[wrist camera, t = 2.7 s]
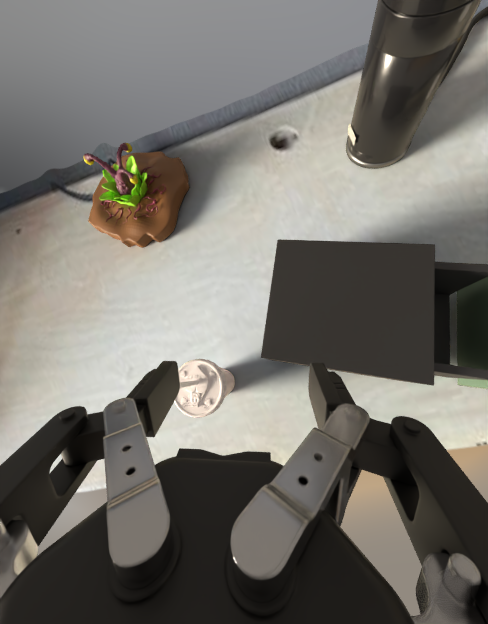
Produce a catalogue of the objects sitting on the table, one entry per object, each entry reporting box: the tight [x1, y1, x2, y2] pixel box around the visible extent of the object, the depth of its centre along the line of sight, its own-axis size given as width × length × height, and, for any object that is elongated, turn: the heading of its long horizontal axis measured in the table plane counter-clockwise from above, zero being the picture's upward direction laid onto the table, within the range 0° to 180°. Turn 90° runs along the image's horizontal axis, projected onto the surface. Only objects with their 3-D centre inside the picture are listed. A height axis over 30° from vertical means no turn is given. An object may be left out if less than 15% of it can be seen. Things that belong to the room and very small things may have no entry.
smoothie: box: [174, 359, 235, 418], centre depth 29 cm, size 6×6×14 cm
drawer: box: [434, 262, 488, 389], centre depth 26 cm, size 19×12×9 cm, turn 81°
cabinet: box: [261, 240, 435, 385], centre depth 29 cm, size 16×14×11 cm
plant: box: [84, 143, 189, 248], centre depth 42 cm, size 20×20×11 cm
